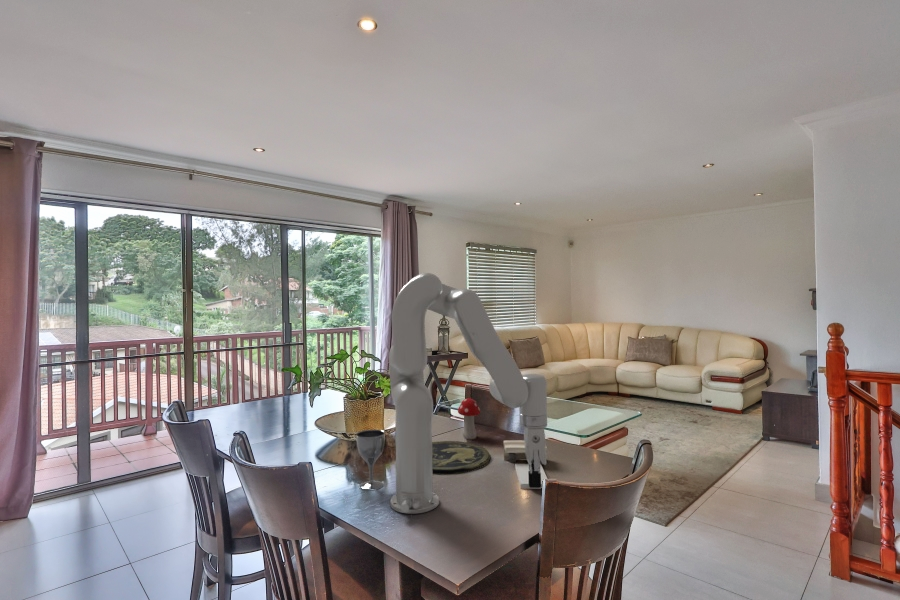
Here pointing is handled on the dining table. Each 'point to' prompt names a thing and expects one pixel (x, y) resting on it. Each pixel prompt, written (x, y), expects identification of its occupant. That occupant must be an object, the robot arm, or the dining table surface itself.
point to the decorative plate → (457, 457)
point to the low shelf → (514, 450)
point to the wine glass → (370, 453)
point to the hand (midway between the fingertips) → (534, 486)
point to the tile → (523, 475)
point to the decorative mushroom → (469, 417)
